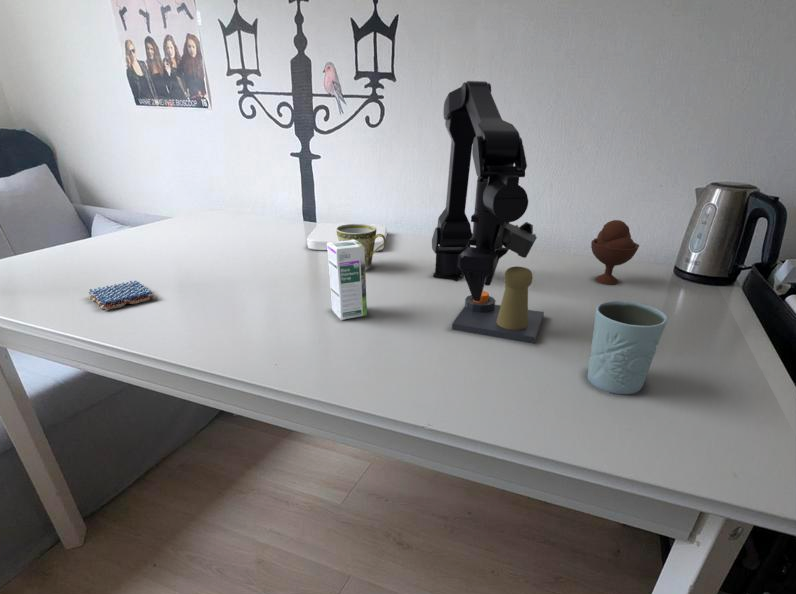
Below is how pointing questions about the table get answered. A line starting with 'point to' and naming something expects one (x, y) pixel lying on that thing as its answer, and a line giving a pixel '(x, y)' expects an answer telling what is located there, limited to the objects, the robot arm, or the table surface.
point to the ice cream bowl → (613, 248)
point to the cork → (515, 299)
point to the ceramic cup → (361, 238)
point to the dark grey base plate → (494, 321)
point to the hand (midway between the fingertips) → (482, 292)
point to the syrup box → (347, 278)
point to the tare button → (483, 297)
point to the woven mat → (120, 295)
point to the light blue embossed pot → (624, 345)
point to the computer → (329, 234)
